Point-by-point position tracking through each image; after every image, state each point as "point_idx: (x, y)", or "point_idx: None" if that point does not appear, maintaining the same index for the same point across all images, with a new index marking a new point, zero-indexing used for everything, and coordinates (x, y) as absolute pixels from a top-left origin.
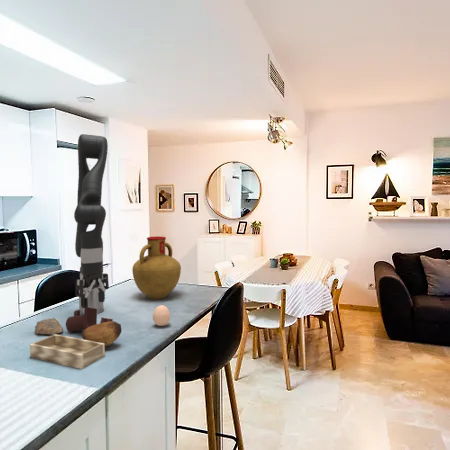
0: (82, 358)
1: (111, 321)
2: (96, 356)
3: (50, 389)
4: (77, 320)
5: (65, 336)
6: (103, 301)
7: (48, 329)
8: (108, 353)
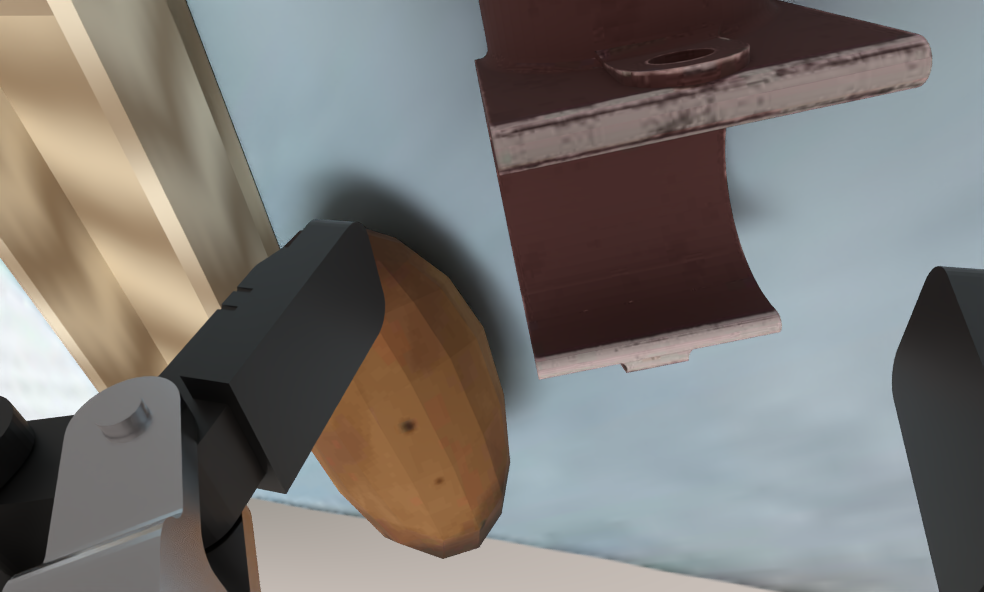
0: None
1: (423, 529)
2: None
3: (22, 358)
4: None
5: (139, 150)
6: (905, 389)
7: None
8: None
